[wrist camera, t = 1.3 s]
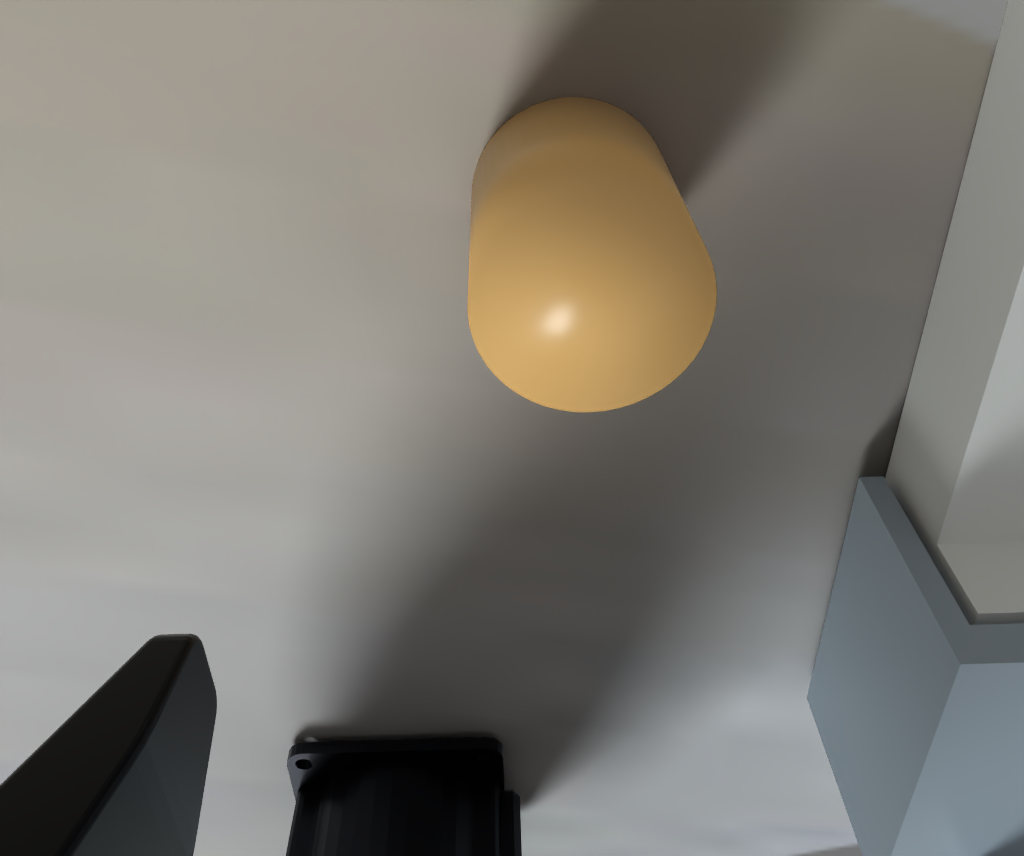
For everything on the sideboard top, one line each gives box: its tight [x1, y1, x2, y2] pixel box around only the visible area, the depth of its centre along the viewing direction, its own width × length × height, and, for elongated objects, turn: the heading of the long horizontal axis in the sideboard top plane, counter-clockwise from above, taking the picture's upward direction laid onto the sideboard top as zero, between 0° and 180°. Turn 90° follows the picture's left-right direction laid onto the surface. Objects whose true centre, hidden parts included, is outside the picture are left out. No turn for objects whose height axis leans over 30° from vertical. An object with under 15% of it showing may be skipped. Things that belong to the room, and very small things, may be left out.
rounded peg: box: [468, 97, 717, 412], centre depth 17 cm, size 4×4×5 cm
